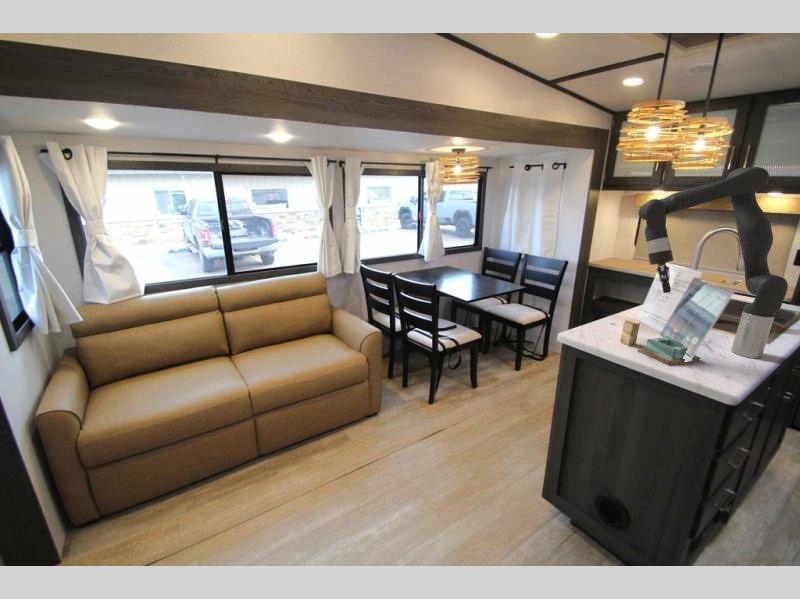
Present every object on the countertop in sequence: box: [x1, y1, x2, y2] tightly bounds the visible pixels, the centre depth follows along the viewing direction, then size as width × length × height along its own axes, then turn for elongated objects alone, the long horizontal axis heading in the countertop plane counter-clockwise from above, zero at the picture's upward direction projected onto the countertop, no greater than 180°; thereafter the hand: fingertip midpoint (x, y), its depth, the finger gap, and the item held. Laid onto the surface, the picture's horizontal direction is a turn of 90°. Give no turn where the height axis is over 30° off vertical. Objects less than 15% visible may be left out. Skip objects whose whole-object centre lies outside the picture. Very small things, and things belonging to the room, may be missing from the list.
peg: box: [619, 319, 641, 347], centre depth 156 cm, size 4×4×10 cm
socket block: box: [637, 336, 701, 366], centre depth 145 cm, size 16×13×6 cm
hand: (667, 292), depth 142 cm, fingers open, 8 cm apart
